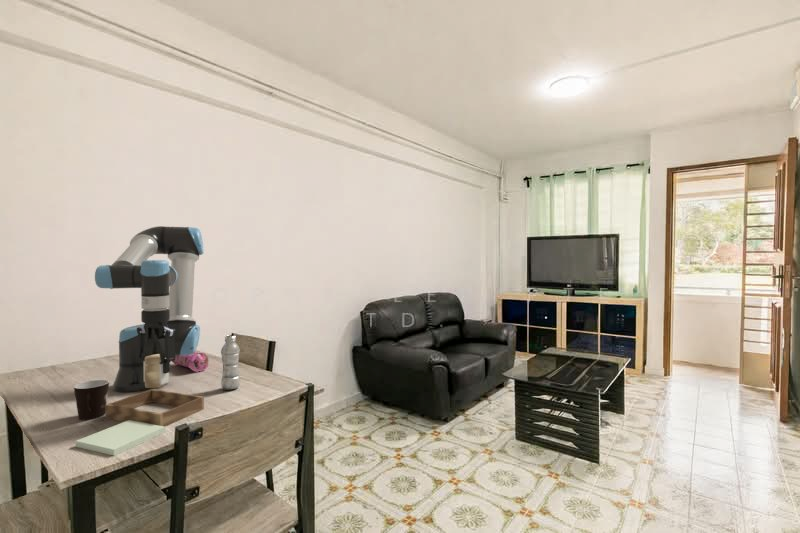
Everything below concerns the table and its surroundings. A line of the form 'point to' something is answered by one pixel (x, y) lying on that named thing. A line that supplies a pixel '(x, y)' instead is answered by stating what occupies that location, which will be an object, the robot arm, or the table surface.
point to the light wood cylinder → (152, 371)
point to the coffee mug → (91, 399)
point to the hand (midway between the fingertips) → (156, 381)
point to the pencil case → (193, 361)
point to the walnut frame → (126, 411)
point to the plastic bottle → (230, 363)
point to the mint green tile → (120, 437)
